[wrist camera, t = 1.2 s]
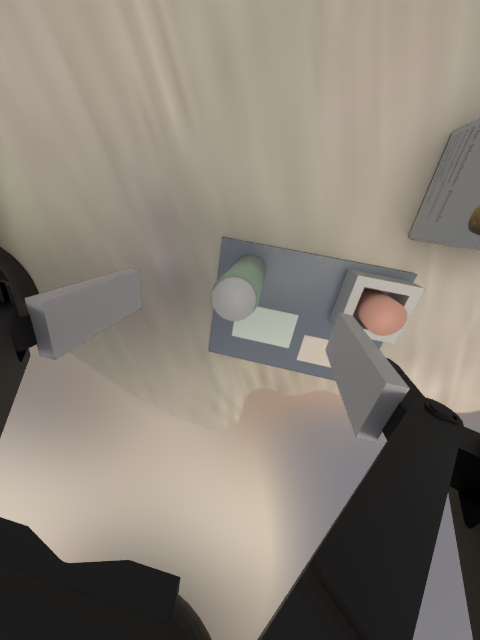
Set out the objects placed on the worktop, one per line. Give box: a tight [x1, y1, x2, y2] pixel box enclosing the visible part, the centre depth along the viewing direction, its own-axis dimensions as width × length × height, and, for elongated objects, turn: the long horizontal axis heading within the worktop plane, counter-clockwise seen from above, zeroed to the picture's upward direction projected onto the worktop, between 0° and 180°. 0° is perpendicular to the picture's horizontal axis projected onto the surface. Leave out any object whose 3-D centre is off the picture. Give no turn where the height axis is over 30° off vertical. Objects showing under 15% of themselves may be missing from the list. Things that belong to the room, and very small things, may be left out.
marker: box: [212, 255, 266, 321], centre depth 21 cm, size 4×4×12 cm
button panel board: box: [209, 237, 425, 381], centre depth 27 cm, size 22×16×4 cm
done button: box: [354, 290, 407, 336], centre depth 23 cm, size 4×4×4 cm
